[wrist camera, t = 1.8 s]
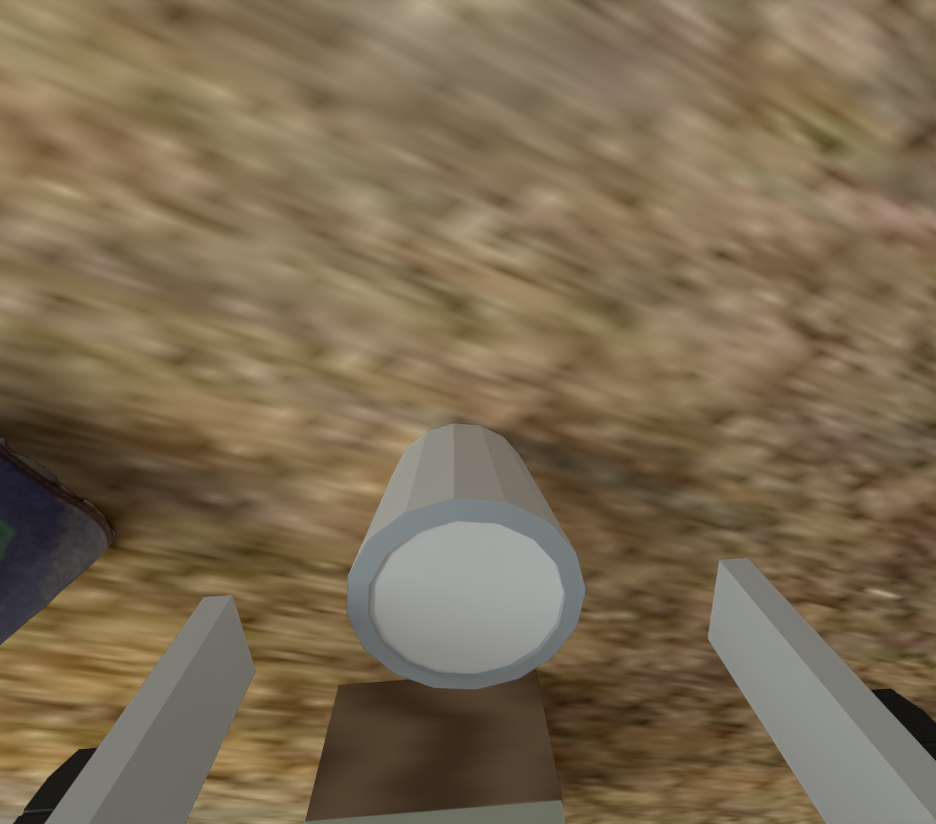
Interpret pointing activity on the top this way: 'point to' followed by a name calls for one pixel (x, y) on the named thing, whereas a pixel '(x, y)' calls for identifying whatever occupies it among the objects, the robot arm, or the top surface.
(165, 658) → the robot arm
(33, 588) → the flask
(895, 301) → the top surface
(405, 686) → the walnut block
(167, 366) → the top surface
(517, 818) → the sage block
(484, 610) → the white cup
